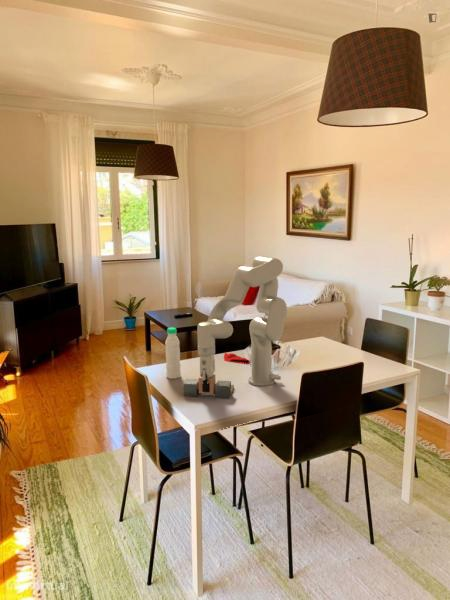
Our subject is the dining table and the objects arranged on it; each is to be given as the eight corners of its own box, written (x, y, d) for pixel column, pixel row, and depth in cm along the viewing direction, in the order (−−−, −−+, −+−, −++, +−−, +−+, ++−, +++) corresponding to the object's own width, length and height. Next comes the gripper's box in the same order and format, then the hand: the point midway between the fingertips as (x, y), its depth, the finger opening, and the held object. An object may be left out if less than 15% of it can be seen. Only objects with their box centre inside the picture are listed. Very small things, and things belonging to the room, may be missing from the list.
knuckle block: (215, 389, 205) (215, 374, 204) (213, 393, 200) (212, 378, 199) (201, 388, 206) (201, 373, 205) (199, 392, 202) (198, 377, 200)
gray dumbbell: (236, 388, 211) (235, 375, 210) (231, 399, 199) (230, 386, 197) (189, 385, 215) (188, 373, 214) (181, 396, 203) (181, 383, 202)
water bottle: (178, 379, 223) (176, 330, 218) (164, 378, 224) (162, 329, 220) (182, 374, 230) (180, 326, 225) (169, 374, 231) (167, 326, 226)
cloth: (215, 355, 263) (215, 351, 262) (237, 352, 268) (237, 348, 267) (232, 369, 239) (232, 365, 238) (256, 365, 244) (256, 361, 243)
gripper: (210, 356, 191) (211, 397, 194) (218, 345, 207) (219, 382, 211) (193, 355, 192) (194, 396, 196) (202, 344, 209) (203, 382, 212)
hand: (207, 389), depth 203 cm, fingers closed on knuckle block, 4 cm apart
